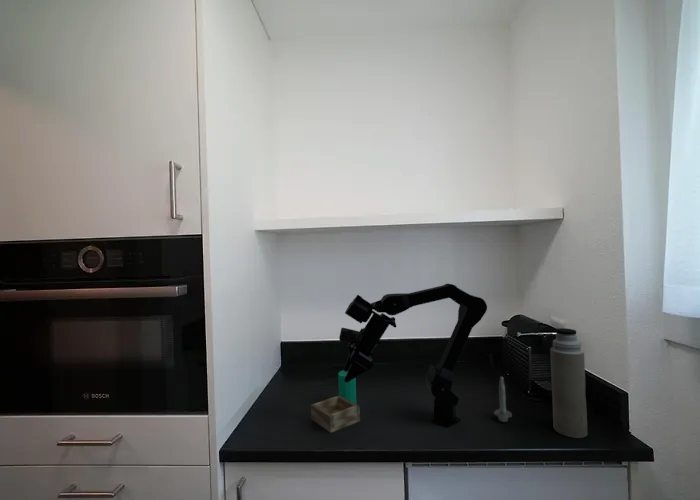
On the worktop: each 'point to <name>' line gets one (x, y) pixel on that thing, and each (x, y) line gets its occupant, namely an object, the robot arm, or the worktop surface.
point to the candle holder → (335, 413)
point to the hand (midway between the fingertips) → (345, 376)
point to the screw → (502, 404)
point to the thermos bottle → (568, 384)
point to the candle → (347, 387)
